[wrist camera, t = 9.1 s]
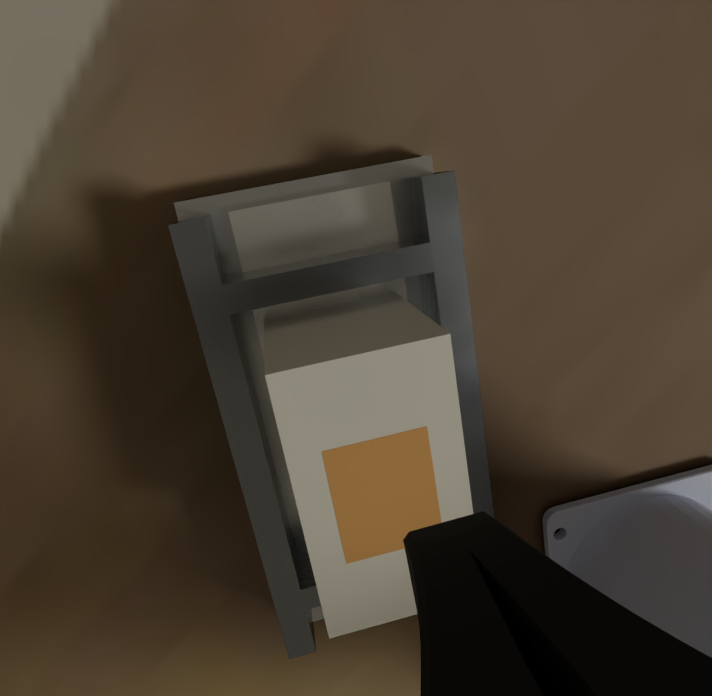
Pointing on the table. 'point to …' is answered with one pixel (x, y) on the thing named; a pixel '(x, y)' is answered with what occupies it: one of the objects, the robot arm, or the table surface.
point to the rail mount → (311, 291)
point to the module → (366, 446)
